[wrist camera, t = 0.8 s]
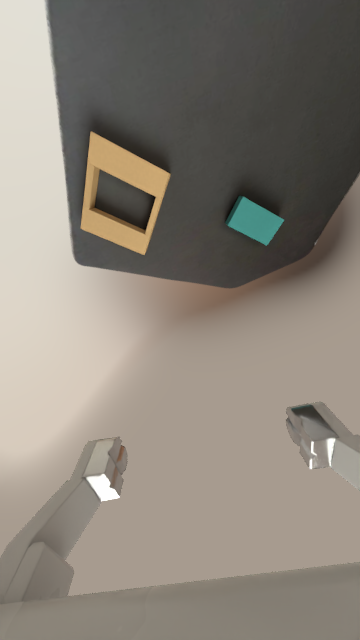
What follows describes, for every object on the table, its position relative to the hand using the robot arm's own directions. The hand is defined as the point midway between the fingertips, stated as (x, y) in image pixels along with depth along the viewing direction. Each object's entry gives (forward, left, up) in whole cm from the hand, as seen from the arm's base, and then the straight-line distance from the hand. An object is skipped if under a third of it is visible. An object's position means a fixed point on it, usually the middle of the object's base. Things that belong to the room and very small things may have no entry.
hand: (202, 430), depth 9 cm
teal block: (-13, +6, -42) cm, 44 cm away
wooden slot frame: (+7, -13, -42) cm, 44 cm away
